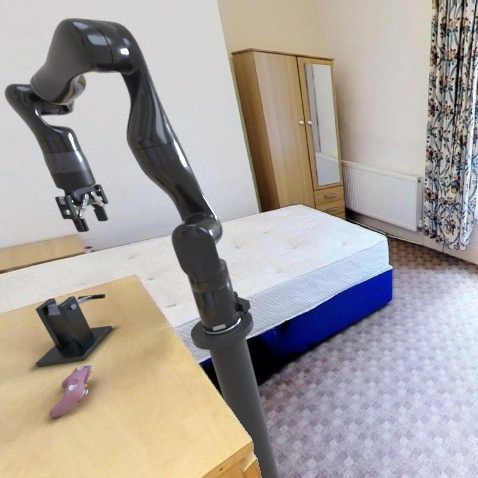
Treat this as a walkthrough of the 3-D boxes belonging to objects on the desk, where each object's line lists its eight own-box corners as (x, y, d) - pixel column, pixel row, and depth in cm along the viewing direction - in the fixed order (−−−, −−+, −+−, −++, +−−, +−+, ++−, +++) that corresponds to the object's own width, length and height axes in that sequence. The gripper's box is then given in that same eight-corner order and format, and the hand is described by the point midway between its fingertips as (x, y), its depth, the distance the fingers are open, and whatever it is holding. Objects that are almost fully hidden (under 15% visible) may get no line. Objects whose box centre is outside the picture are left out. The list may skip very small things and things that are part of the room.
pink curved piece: (79, 417, 66) (88, 388, 66) (46, 420, 63) (56, 390, 63) (90, 384, 74) (98, 358, 73) (61, 386, 71) (69, 358, 70)
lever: (81, 302, 88) (80, 293, 88) (106, 299, 90) (104, 291, 89) (39, 316, 76) (38, 306, 75) (69, 313, 77) (67, 303, 77)
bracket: (72, 334, 87) (50, 291, 81) (113, 329, 89) (94, 286, 83) (37, 367, 76) (9, 320, 70) (84, 360, 78) (60, 314, 73)
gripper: (68, 173, 78) (94, 234, 85) (104, 163, 91) (124, 216, 97) (29, 174, 76) (58, 236, 83) (71, 163, 89) (94, 218, 95)
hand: (94, 225), depth 90 cm, fingers open, 8 cm apart
